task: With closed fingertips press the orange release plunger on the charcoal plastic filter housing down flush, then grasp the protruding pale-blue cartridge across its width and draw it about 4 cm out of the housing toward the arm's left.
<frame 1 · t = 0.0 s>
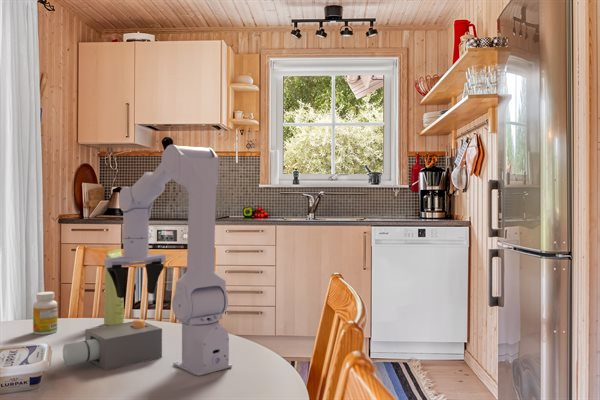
hand: (135, 295, 124), 10 cm above the table, fingers open, 7 cm apart
plunger: (139, 328, 111), point 6 cm above the table, slide at 0.0 cm
housing: (123, 357, 108), on the table
cartridge: (99, 348, 105), point 3 cm above the table, slide at 0.0 cm
supplement bottle: (45, 333, 129), on the table
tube: (113, 324, 138), on the table
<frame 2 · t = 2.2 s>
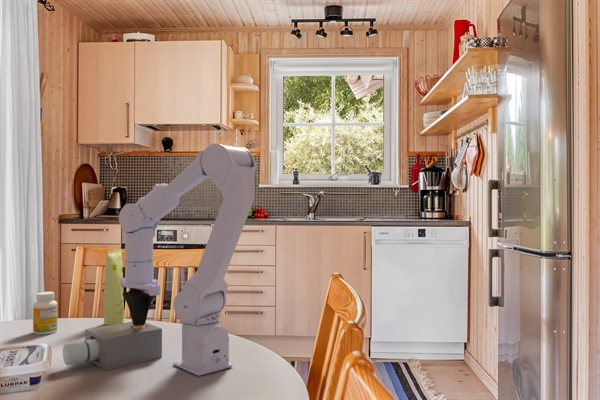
hand: (139, 325, 111), 6 cm above the table, fingers closed, pressing on plunger
plunger: (139, 332, 111), point 5 cm above the table, slide at -0.9 cm, touching gripper
everything else where it was.
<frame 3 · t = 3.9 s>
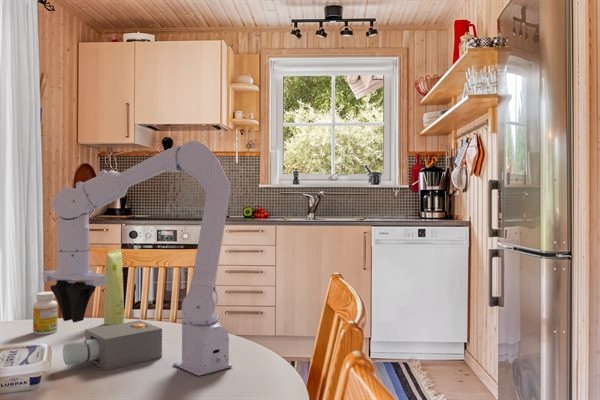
hand: (73, 320, 101), 9 cm above the table, fingers closed
plunger: (139, 332, 111), point 5 cm above the table, slide at -0.9 cm
everything else where it was.
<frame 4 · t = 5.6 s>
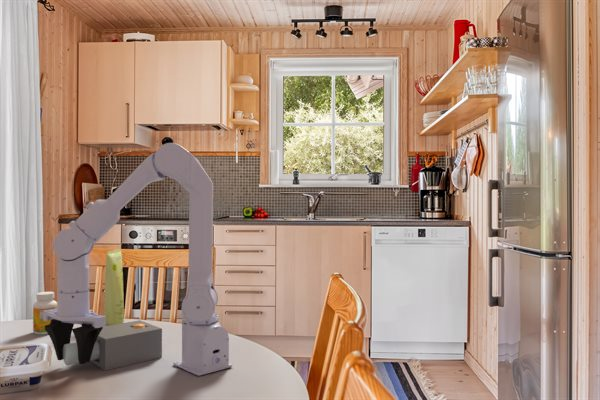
hand: (73, 360, 101), 2 cm above the table, fingers open, 5 cm apart
cartridge: (99, 348, 105), point 3 cm above the table, slide at 0.0 cm, touching gripper
everything else where it was.
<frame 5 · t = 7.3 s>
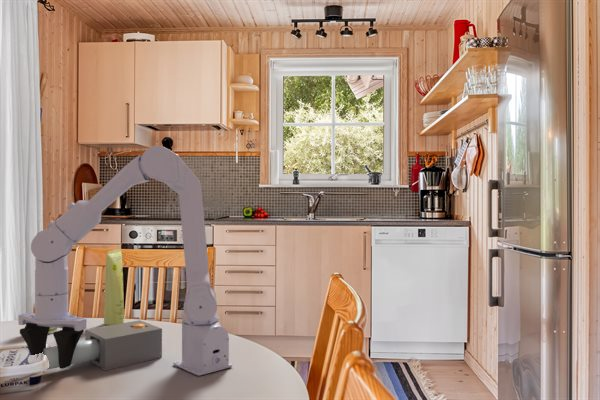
hand: (51, 365, 99), 2 cm above the table, fingers open, 6 cm apart
cartridge: (81, 351, 102), point 3 cm above the table, slide at 3.7 cm, touching gripper
everything else where it was.
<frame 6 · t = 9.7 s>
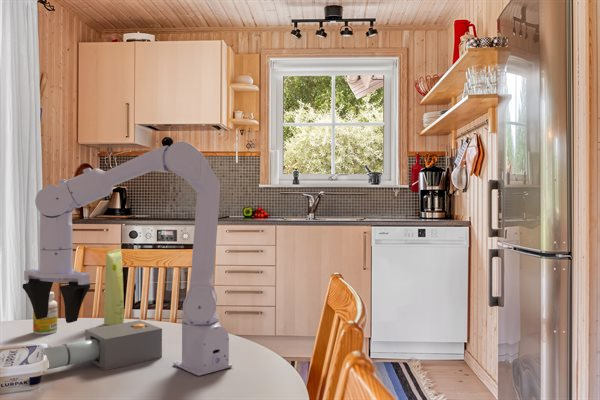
hand: (56, 320, 100), 10 cm above the table, fingers open, 7 cm apart
cartridge: (81, 351, 102), point 3 cm above the table, slide at 3.7 cm
everything else where it was.
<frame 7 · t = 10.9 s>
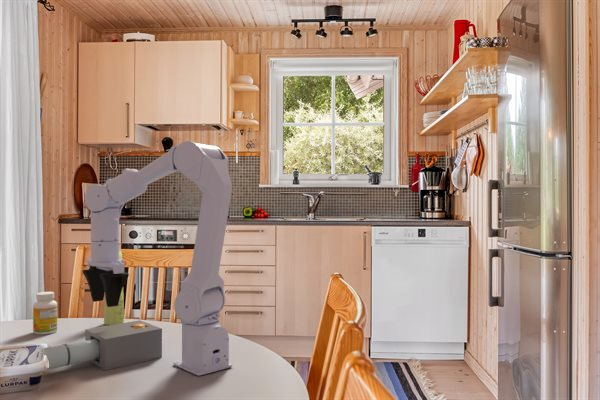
hand: (105, 303, 113), 10 cm above the table, fingers open, 7 cm apart
nothing on the table moved.
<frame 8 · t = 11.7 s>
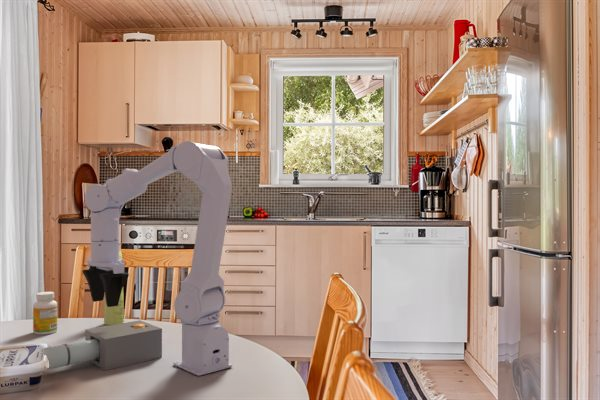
hand: (105, 303, 113), 10 cm above the table, fingers open, 7 cm apart
nothing on the table moved.
at the end: cartridge slide at 3.7 cm; plunger slide at -0.9 cm; the gripper is holding nothing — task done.
